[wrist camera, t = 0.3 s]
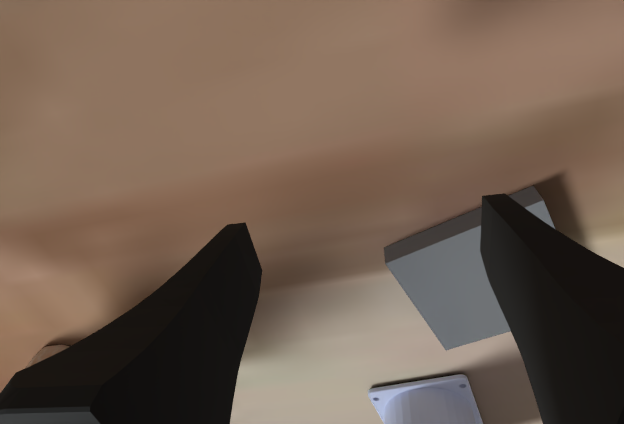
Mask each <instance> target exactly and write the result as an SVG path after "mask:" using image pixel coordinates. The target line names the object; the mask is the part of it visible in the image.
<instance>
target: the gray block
mask: <svg viewBox="0 0 624 424" xmlns="http://www.w3.org/2000/svg"><path fill="white" fill-rule="evenodd" d="M509 197H511V198H512V199H513V200H515V201H516V202H517V203H519V204H520V205H521V206H523V207H524V208H526V209H527V210H528V211H530V212H531V213H533V214H534V215H535V216H537V217H538V218H540V219H541V220H542V221H544V222H545V223H547V224H548V225H550V226H551V227H553V228H554V229H555V227H554V225H553V222H552V220H551V217H550V215H549V212H548V210H547V207H546V205H545V202H544V200H543V199H542V197H541V196H540V194H539V193H538V192H537V190H536V189H535V187H534V186H531V187H528V188H526V189H523V190H521V191H519V192H516V193H514V194H511V195H509ZM481 214H482V207H480V208H478V209H475V210H473V211H471V212H468V213H466V214H463V215H461V216H459V217H456V218H454V219H451V220H449V221H447V222H444V223H442V224H439V225H437V226H435V227H432V228H430V229H427V230H425V231H423V232H420V233H418V234H415V235H413V236H411V237H408V238H406V239H403V240H401V241H399V242H396V243H394V244H392V245H389V246H387V247H384V254H385V264H386V265H387V267H388V268H389V270H390V271H391V272H392V274H393V275H394V277H395V278H396V280H397V281H398V282H399V284H400V285H401V287H402V288H403V290H404V291H405V292H406V294H407V295H408V297H409V298H410V300H411V301H412V302H413V304H414V305H415V307H416V308H417V310H418V311H419V312H420V314H421V315H422V317H423V318H424V320H425V321H426V322H427V324H428V325H429V327H430V328H431V330H432V331H433V333H434V334H435V335H436V337H437V338H438V340H439V341H440V343H441V344H442V345H443V347H444V348H445V350H449V349H452V348H455V347H459V346H462V345H465V344H469V343H472V342H476V341H479V340H482V339H486V338H489V337H492V336H496V335H499V334H503V333H506V332H509V331H511V330H510V328H509V325H508V323H507V321H506V319H505V316H504V314H503V312H502V310H501V308H500V305H499V303H498V301H497V299H496V296H495V294H494V292H493V289H492V287H491V285H490V283H489V280H488V277H487V274H486V270H485V267H484V263H483V260H482V256H481V253H480V239H481Z"/></svg>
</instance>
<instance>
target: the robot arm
mask: <svg viewBox="0 0 624 424" xmlns="http://www.w3.org/2000/svg"><path fill="white" fill-rule="evenodd" d="M480 253H481V256H482V260H483V263H484V267H485V270H486V274H487V277H488V280H489V283H490V285H491V287H492V289H493V292H494V294H495V296H496V299H497V301H498V303H499V305H500V308H501V310H502V312H503V314H504V316H505V319H506V321H507V323H508V325H509V328H510V330H511V332H512V334H513V337H514V339H515V341H516V343H517V346H518V348H519V351H520V353H521V356H522V358H523V361H524V364H525V367H526V370H527V373H528V376H529V380H530V383H531V386H532V389H533V392H534V395H535V398H536V402H537V405H538V408H539V412H540V415H541V418H542V421H543V424H624V268H623V267H621V266H619V265H617V264H615V263H613V262H611V261H609V260H607V259H605V258H603V257H601V256H599V255H597V254H595V253H594V252H592V251H590V250H588V249H587V248H585V247H583V246H581V245H580V244H578V243H576V242H575V241H573V240H571V239H570V238H568V237H567V236H565V235H563V234H562V233H560V232H559V231H557V230H556V229H554V228H553V227H551V226H550V225H548V224H547V223H545V222H544V221H542V220H541V219H540V218H538V217H537V216H535V215H534V214H533V213H531V212H530V211H528V210H527V209H526V208H524V207H523V206H521V205H520V204H519V203H517V202H516V201H515V200H513V199H512V198H511V197H509V196H508V195H506V194H496V195H487V196H482V214H481V239H480ZM261 275H262V269H261V266H260V263H259V260H258V257H257V254H256V251H255V249H254V246H253V243H252V240H251V237H250V234H249V231H248V228H247V226H246V223H238V224H229V225H227V226H225V227H224V228H223V229H222V230H221V231H220V232H219V233H218V234H217V235H216V236H215V237H214V238H213V239H212V240H211V241H210V242H209V243H208V244H207V245H206V246H205V247H203V248H202V249H201V250H200V251H199V252H198V253H197V254H196V255H195V256H194V257H193V258H192V259H191V260H190V261H189V262H188V263H187V264H186V265H185V266H184V267H183V268H181V269H180V270H179V271H178V272H177V273H176V274H175V275H174V276H172V277H171V278H170V279H169V280H168V281H167V282H166V283H165V284H163V285H162V286H161V287H160V288H159V289H157V290H156V291H155V292H154V293H152V294H151V295H150V296H149V297H147V298H146V299H145V300H143V301H142V302H140V303H139V304H138V305H136V306H135V307H134V308H132V309H131V310H129V311H128V312H126V313H125V314H123V315H122V316H120V317H119V318H117V319H116V320H114V321H113V322H111V323H110V324H108V325H106V326H105V327H103V328H102V329H100V330H98V331H97V332H95V333H93V334H92V335H90V336H88V337H86V338H85V339H83V340H81V341H79V342H77V343H76V344H74V345H72V346H70V347H68V348H66V349H64V350H62V351H61V352H59V353H57V354H55V355H52V356H50V357H48V358H46V359H44V360H42V361H40V362H38V363H36V364H34V365H32V366H30V367H27V368H25V369H23V370H21V371H19V372H17V373H15V375H14V376H13V377H12V379H11V380H10V381H9V382H8V384H7V385H6V386H5V388H4V389H3V390H2V392H1V393H0V424H230V417H231V410H232V404H233V398H234V392H235V386H236V380H237V375H238V370H239V366H240V361H241V357H242V354H243V351H244V347H245V344H246V340H247V337H248V333H249V330H250V326H251V323H252V319H253V316H254V312H255V309H256V305H257V301H258V297H259V291H260V284H261ZM368 396H369V398H370V400H371V402H372V403H373V405H374V407H375V408H376V410H377V412H378V414H379V415H380V417H381V419H382V421H383V422H384V424H483V421H482V418H481V416H480V413H479V410H478V407H477V404H476V401H475V398H474V396H473V393H472V390H471V387H470V384H469V381H468V378H467V376H465V375H463V374H459V375H452V376H446V377H440V378H434V379H427V380H421V381H415V382H408V383H402V384H396V385H390V386H383V387H377V388H372V389H369V390H368Z"/></svg>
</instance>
